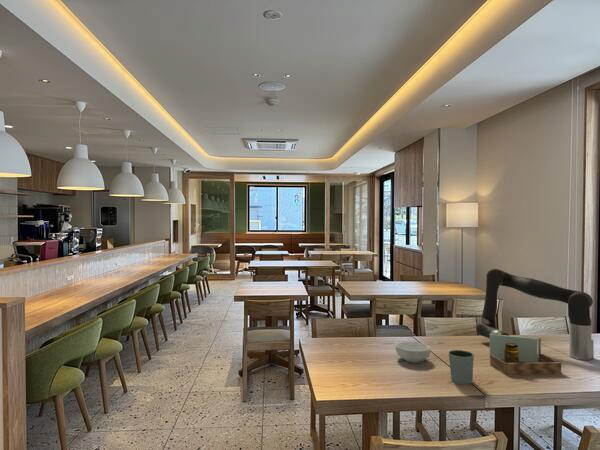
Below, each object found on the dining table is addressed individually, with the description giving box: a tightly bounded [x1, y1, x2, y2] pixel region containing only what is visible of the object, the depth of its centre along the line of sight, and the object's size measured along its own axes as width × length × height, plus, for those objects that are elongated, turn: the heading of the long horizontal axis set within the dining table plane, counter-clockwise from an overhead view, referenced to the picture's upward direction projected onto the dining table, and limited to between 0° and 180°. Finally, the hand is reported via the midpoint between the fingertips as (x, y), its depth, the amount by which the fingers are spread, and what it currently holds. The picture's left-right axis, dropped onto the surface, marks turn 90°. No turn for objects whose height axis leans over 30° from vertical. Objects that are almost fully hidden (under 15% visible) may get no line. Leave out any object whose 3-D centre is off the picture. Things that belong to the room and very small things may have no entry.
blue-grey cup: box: [448, 349, 475, 386], centre depth 174 cm, size 10×10×12 cm
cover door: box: [489, 334, 542, 363], centre depth 199 cm, size 22×1×13 cm, turn 68°
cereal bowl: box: [395, 341, 432, 364], centre depth 201 cm, size 17×17×7 cm
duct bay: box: [489, 353, 562, 376], centre depth 188 cm, size 26×13×5 cm, turn 92°
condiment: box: [503, 343, 520, 363], centre depth 188 cm, size 7×8×12 cm
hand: (517, 347), depth 200 cm, fingers closed
